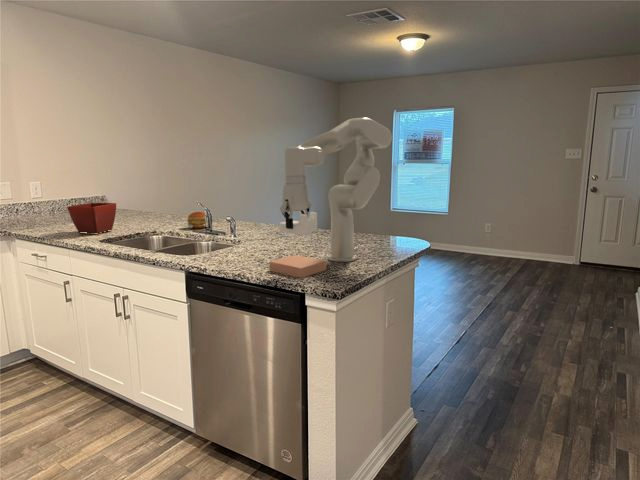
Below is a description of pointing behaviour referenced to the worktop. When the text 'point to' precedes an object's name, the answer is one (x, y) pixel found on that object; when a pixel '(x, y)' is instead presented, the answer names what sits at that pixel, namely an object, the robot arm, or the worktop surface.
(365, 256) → the worktop surface
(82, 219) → the plant pot
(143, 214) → the worktop surface
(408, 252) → the worktop surface
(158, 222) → the worktop surface
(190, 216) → the burger
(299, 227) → the bracket
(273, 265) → the riser block
